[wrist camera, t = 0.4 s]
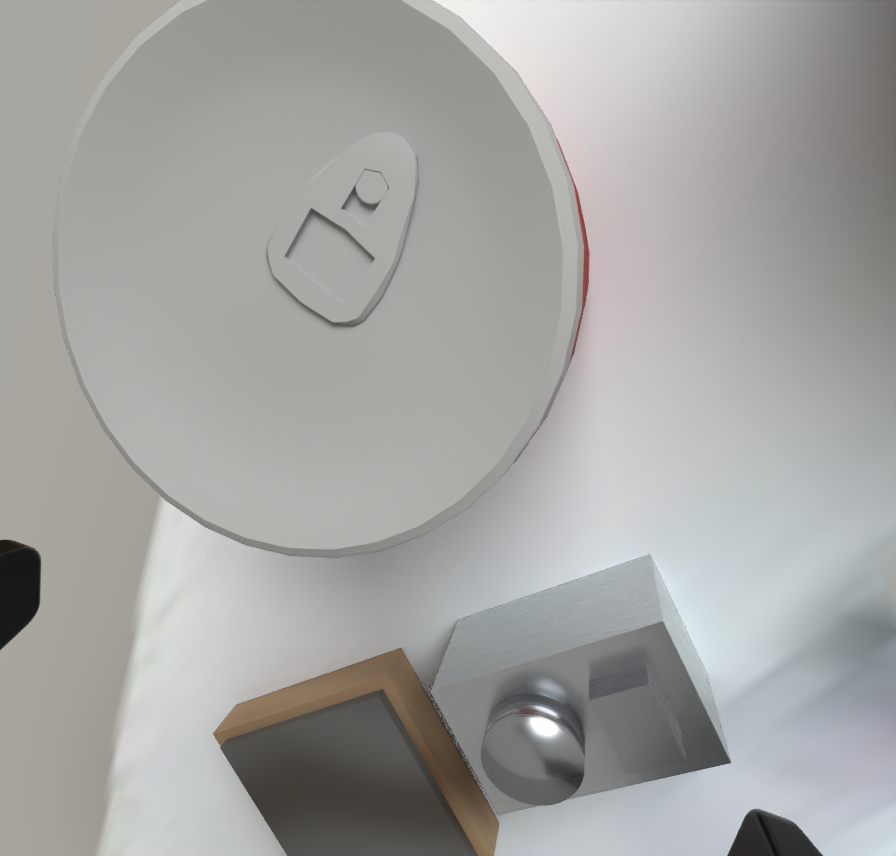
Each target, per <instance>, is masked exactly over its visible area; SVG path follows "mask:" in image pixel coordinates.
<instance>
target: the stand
mask: <svg viewBox="0 0 896 856" xmlns="http://www.w3.org/2000/svg"><path fill="white" fill-rule="evenodd" d="M213 735H214V736H215V738H216V739H217V741H218V743H219V744H220V746H221V747H220V748H221V750H222V751H223V753H224V755H225V756H226V758H227V760H228V761H229V763H230V764H231V766H232V768H233V769H234V771H235V772H236V774H237V776H238V777H239V779H240V780H241V782H242V784H243V785H244V787H245V788H246V790H247V792H248V793H249V795H250V796H251V798H252V800H253V801H254V803H255V804H256V806H257V808H258V809H259V811H260V813H261V814H262V816H263V817H264V819H265V821H266V822H267V824H268V825H269V827H270V829H271V830H272V832H273V833H274V835H275V837H276V838H277V840H278V841H279V843H280V845H281V846H282V848H283V849H284V851H285V853H286V854H287V856H494V851H495V845H496V839H497V833H498V827H499V822H498V820H497V818H496V816H495V815H494V813H493V811H492V809H491V808H490V806H489V804H488V802H487V800H486V799H485V797H484V795H483V793H482V791H481V790H480V788H479V786H478V784H477V783H476V781H475V779H474V777H473V775H472V774H471V772H470V770H469V768H468V767H467V765H466V763H465V761H464V759H463V758H462V756H461V754H460V752H459V751H458V749H457V747H456V745H455V743H454V742H453V740H452V738H451V736H450V735H449V733H448V731H447V729H446V727H445V726H444V724H443V722H442V720H441V718H440V717H439V715H438V713H437V711H436V710H435V708H434V706H433V704H432V702H431V701H430V699H429V697H428V695H427V694H426V692H425V690H424V688H423V686H422V685H421V683H420V681H419V679H418V678H417V676H416V674H415V672H414V670H413V669H412V667H411V665H410V663H409V662H408V660H407V658H406V656H405V654H404V653H403V651H402V649H401V648H400V649H397V650H394V651H391V652H388V653H386V654H383V655H380V656H377V657H374V658H371V659H368V660H365V661H362V662H360V663H357V664H354V665H351V666H348V667H345V668H342V669H339V670H336V671H334V672H331V673H328V674H325V675H322V676H319V677H316V678H313V679H310V680H308V681H305V682H302V683H299V684H296V685H293V686H290V687H287V688H284V689H282V690H279V691H276V692H273V693H270V694H267V695H264V696H261V697H258V698H256V699H253V700H250V701H247V702H244V703H241V704H238V705H236V706H235V707H234V708H233V710H232V711H231V712H230V713H229V715H228V716H227V717H226V718H225V719H224V721H223V722H222V723H221V724H220V726H219V727H218V728H217V729H216V731H215V732H214V733H213Z"/></svg>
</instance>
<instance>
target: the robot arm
mask: <svg viewBox="0 0 896 856" xmlns="http://www.w3.org/2000/svg"><path fill="white" fill-rule="evenodd" d="M40 587H41V557H40V554H39V553H38V551H37V550H36V549H35V548H33V547H30V546H27V545H24V544H22V543H19V542H16V541H12V540H0V650H1V649H2V648H3V647H4V646H5V645H6V644H7V643H8V642H10V640H12V639H13V638H14V637H15V636H16V635H17V634H18V633H19V632H20V631H21V630H22V629H23V628H24V627H26V625H28V624H29V622H30V621H31V620H32V619H33V618H34V616H35V615H36V613H37V610H38V608H39V605H40ZM728 856H823V855H822V854H821V853H820V852H819V851H818V849H817V848H816V847H815V846H814V845H813V843H812V842H811V841H810V840H809V839H808V837H807V836H806V835H805V834H804V833H803V831H802V830H801V829H800V828H799V827H798V826H797V825H796V824H795V823H793V822H792V821H790V820H788V819H785V818H782V817H780V816H777V815H774V814H771V813H769V812H766V811H763V810H760V809H753V810H751V811H750V812H748V813H747V815H746V816H745V818H744V820H743V822H742V825H741V827H740V829H739V831H738V833H737V836H736V838H735V840H734V842H733V845H732V847H731V849H730V851H729V853H728Z"/></svg>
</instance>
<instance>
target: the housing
mask: <svg viewBox="0 0 896 856" xmlns="http://www.w3.org/2000/svg"><path fill="white" fill-rule="evenodd" d="M431 694H432V696H433V697H434V699H435V701H436V703H437V705H438V707H439V708H440V710H441V712H442V714H443V716H444V717H445V719H446V721H447V723H448V725H449V727H450V728H451V730H452V732H453V734H454V736H455V737H456V739H457V741H458V743H459V745H460V747H461V748H462V750H463V752H464V754H465V756H466V757H467V759H468V761H469V763H470V765H471V767H472V768H473V770H474V772H475V774H476V776H477V777H478V779H479V781H480V783H481V785H482V787H483V788H484V790H485V792H486V794H487V796H488V797H489V799H490V801H491V803H492V805H493V806H494V808H495V810H496V812H497V814H498V815H499V814H504V813H508V812H513V811H517V810H522V809H526V808H531V807H535V806H540V805H552V804H556V803H560V802H562V801H564V800H567V799H571V798H576V797H580V796H585V795H589V794H594V793H598V792H603V791H607V790H612V789H616V788H621V787H625V786H630V785H634V784H639V783H643V782H648V781H652V780H657V779H661V778H666V777H670V776H675V775H679V774H684V773H688V772H693V771H697V770H702V769H706V768H711V767H715V766H720V765H724V764H729V763H731V760H730V756H729V753H728V749H727V745H726V742H725V738H724V734H723V731H722V727H721V723H720V720H719V716H718V712H717V708H716V705H715V701H714V697H713V694H712V690H711V686H710V683H709V679H708V675H707V672H706V670H705V668H704V666H703V664H702V661H701V659H700V657H699V655H698V653H697V651H696V649H695V647H694V645H693V642H692V640H691V638H690V636H689V634H688V632H687V630H686V628H685V626H684V624H683V621H682V619H681V617H680V615H679V613H678V611H677V609H676V607H675V605H674V603H673V600H672V598H671V596H670V594H669V592H668V590H667V588H666V586H665V584H664V582H663V579H662V577H661V575H660V573H659V571H658V569H657V567H656V565H655V563H654V561H653V558H652V556H651V554H649V555H646V556H643V557H640V558H637V559H634V560H631V561H629V562H626V563H623V564H620V565H617V566H614V567H611V568H608V569H605V570H602V571H599V572H596V573H593V574H590V575H587V576H585V577H582V578H579V579H576V580H573V581H570V582H567V583H564V584H561V585H558V586H555V587H552V588H549V589H546V590H544V591H541V592H538V593H535V594H532V595H529V596H526V597H523V598H520V599H517V600H514V601H511V602H508V603H505V604H503V605H500V606H497V607H494V608H491V609H488V610H485V611H482V612H479V613H476V614H473V615H470V616H467V617H464V618H462V619H459V620H458V621H457V623H456V626H455V629H454V631H453V634H452V637H451V639H450V642H449V644H448V647H447V650H446V652H445V655H444V658H443V660H442V663H441V665H440V668H439V671H438V673H437V676H436V679H435V681H434V684H433V686H432V689H431Z"/></svg>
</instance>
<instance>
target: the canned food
mask: <svg viewBox="0 0 896 856" xmlns="http://www.w3.org/2000/svg"><path fill="white" fill-rule="evenodd" d="M52 236H53V273H54V290H55V296H56V302H57V307H58V312H59V318H60V323H61V329H62V334H63V339H64V342H65V345H66V348H67V350H68V353H69V356H70V359H71V362H72V365H73V368H74V370H75V373H76V376H77V379H78V382H79V384H80V387H81V389H82V391H83V393H84V394H85V397H86V398H87V400H88V402H89V404H90V406H91V408H92V409H93V412H94V413H95V415H96V417H97V419H98V421H99V423H100V425H101V427H102V428H103V430H104V432H105V433H106V434H107V436H108V437H109V438H110V439H111V441H112V442H113V443H114V445H115V446H116V447H117V448H118V450H119V451H120V453H121V454H122V455H123V457H124V458H125V459H126V461H127V462H128V463H129V465H130V466H131V467H132V469H133V470H135V471H136V472H137V473H138V474H139V475H140V476H141V477H142V478H143V479H144V480H145V481H146V482H147V483H148V484H149V485H150V486H151V487H152V488H153V489H154V490H156V491H157V492H158V493H159V494H160V495H161V496H162V497H163V498H164V499H165V500H166V501H167V502H169V503H170V504H172V505H173V506H175V507H176V508H178V509H179V510H181V511H182V512H184V513H185V514H187V515H188V516H189V517H191V518H192V519H194V520H195V521H197V522H198V523H200V524H201V525H203V526H204V527H206V528H209V529H211V530H213V531H215V532H218V533H220V534H222V535H224V536H227V537H229V538H231V539H233V540H236V541H238V542H240V543H242V544H245V545H247V546H251V547H256V548H260V549H264V550H268V551H272V552H277V553H281V554H285V555H289V556H307V557H331V558H338V557H344V556H350V555H357V554H363V553H369V552H376V551H382V550H385V549H387V548H390V547H393V546H395V545H398V544H401V543H403V542H406V541H409V540H411V539H414V538H417V537H419V536H422V535H425V534H427V533H429V532H430V531H432V530H434V529H435V528H437V527H438V526H440V525H441V524H443V523H445V522H446V521H448V520H449V519H451V518H453V517H454V516H456V515H457V514H459V513H461V512H462V511H464V510H465V509H467V508H468V507H470V506H471V505H472V504H473V503H474V502H475V501H476V500H477V499H478V498H479V497H480V496H481V495H482V494H483V493H484V492H485V491H486V490H488V489H489V488H490V487H491V486H492V485H493V484H494V483H495V482H496V481H497V480H498V479H499V478H500V477H501V476H502V475H503V474H504V473H505V472H506V471H507V470H508V469H509V467H510V466H511V465H512V464H513V463H514V462H515V461H516V460H517V459H518V457H519V456H520V454H521V453H522V451H523V450H524V449H525V447H526V446H527V444H528V443H529V441H530V440H531V438H532V437H533V436H534V434H535V433H536V431H537V430H538V428H539V427H540V426H541V424H542V423H543V421H544V420H545V418H546V417H547V415H548V412H549V410H550V408H551V406H552V403H553V401H554V399H555V397H556V394H557V392H558V390H559V387H560V385H561V383H562V381H563V378H564V376H565V374H566V372H567V369H568V367H569V364H570V361H571V359H572V357H573V354H574V350H575V346H576V341H577V337H578V332H579V328H580V324H581V319H582V315H583V310H584V306H585V301H586V295H587V289H588V283H589V248H588V242H587V236H586V230H585V224H584V219H583V215H582V210H581V205H580V200H579V195H578V191H577V189H576V186H575V184H574V181H573V178H572V176H571V173H570V171H569V168H568V165H567V163H566V160H565V157H564V155H563V152H562V150H561V147H560V144H559V142H558V140H557V138H556V136H555V134H554V131H553V128H552V126H551V124H550V122H549V121H548V119H547V118H546V116H545V115H544V113H543V112H542V110H541V109H540V107H539V105H538V104H537V102H536V101H535V99H534V98H533V96H532V95H531V93H530V92H529V90H528V88H527V87H526V85H525V84H524V82H523V81H522V79H521V78H520V76H519V75H518V73H517V72H516V71H515V70H514V69H513V68H512V67H511V66H510V65H509V64H508V63H507V62H506V61H505V60H504V59H503V58H502V57H501V56H500V55H499V54H498V53H497V52H496V51H495V50H494V49H493V48H492V47H491V46H490V45H489V44H488V43H487V42H486V41H485V40H484V39H483V38H482V37H481V36H480V35H479V34H478V33H477V32H476V31H475V30H474V29H472V28H471V27H470V26H469V25H468V24H467V23H466V22H465V21H464V20H463V19H462V18H461V17H459V16H458V15H456V14H454V13H453V12H451V11H449V10H448V9H446V8H444V7H443V6H441V5H439V4H438V3H436V2H434V1H433V0H181V1H180V2H179V3H177V4H176V5H175V6H173V7H172V8H171V9H170V10H169V11H168V12H166V13H165V14H164V15H162V16H161V17H160V18H159V19H157V20H156V21H155V22H154V23H152V24H151V25H150V26H149V27H147V28H146V29H145V30H144V31H142V32H141V33H140V34H139V35H137V37H136V38H135V39H134V40H133V42H132V43H131V44H130V45H129V47H128V48H127V49H126V50H125V52H124V53H123V54H122V55H121V56H120V58H119V59H118V60H117V61H116V63H115V64H114V65H113V66H112V67H111V69H110V70H109V71H108V72H107V74H106V75H105V76H104V77H103V79H102V80H101V82H100V84H99V86H98V88H97V90H96V92H95V94H94V95H93V97H92V99H91V101H90V103H89V105H88V107H87V109H86V111H85V113H84V114H83V116H82V118H81V120H80V122H79V124H78V126H77V128H76V131H75V134H74V137H73V140H72V143H71V147H70V150H69V153H68V156H67V159H66V162H65V165H64V169H63V172H62V175H61V178H60V182H59V190H58V197H57V204H56V213H55V219H54V227H53V234H52Z"/></svg>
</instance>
